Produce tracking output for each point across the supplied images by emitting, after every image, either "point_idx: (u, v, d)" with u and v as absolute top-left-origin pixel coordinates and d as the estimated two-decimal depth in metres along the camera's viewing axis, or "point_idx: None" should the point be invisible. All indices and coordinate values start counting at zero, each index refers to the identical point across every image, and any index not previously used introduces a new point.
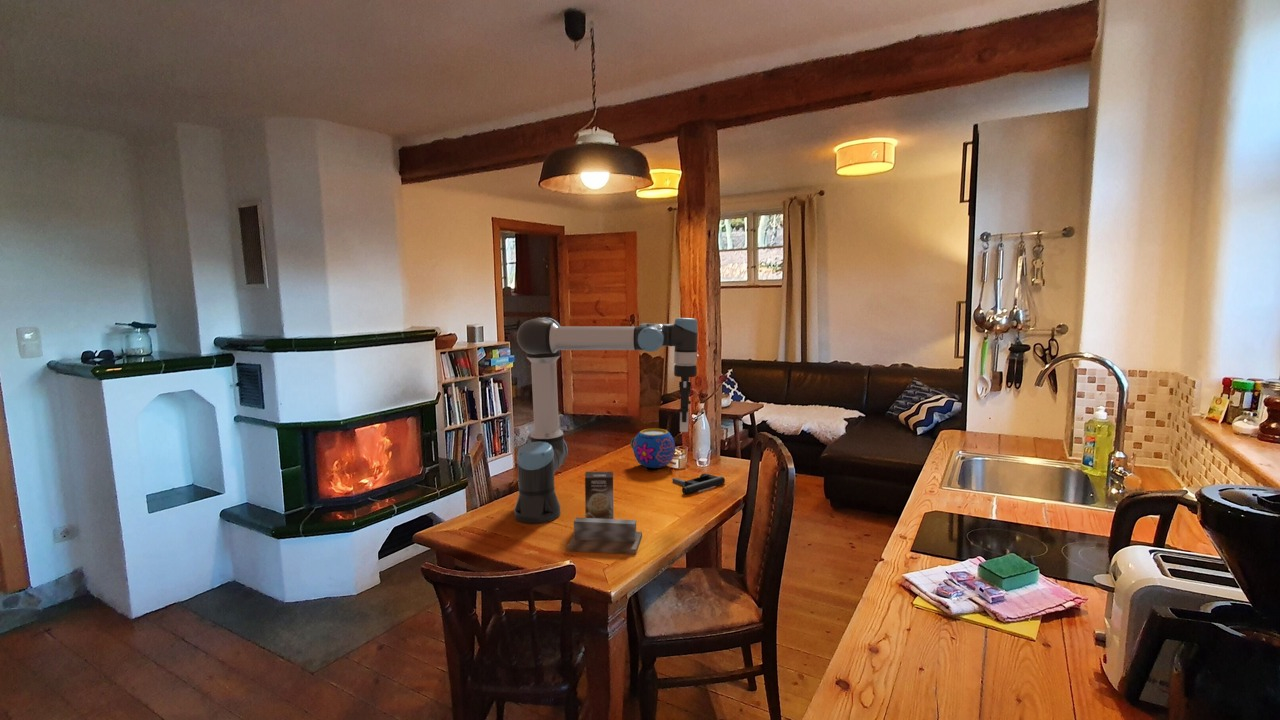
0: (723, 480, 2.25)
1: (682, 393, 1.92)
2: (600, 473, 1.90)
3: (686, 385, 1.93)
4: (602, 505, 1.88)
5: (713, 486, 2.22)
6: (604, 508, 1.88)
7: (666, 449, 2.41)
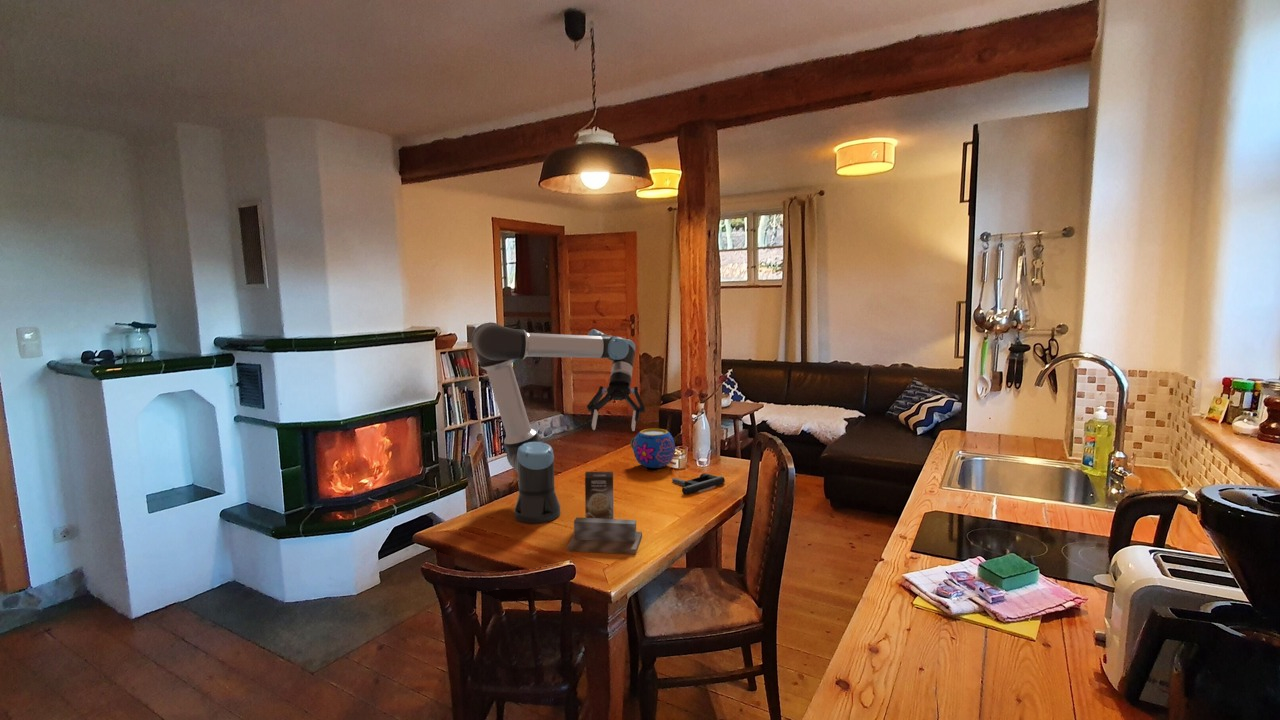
0: (723, 480, 2.25)
1: (639, 396, 2.07)
2: (600, 473, 1.90)
3: (638, 392, 2.09)
4: (602, 505, 1.88)
5: (713, 486, 2.22)
6: (604, 508, 1.88)
7: (666, 449, 2.41)
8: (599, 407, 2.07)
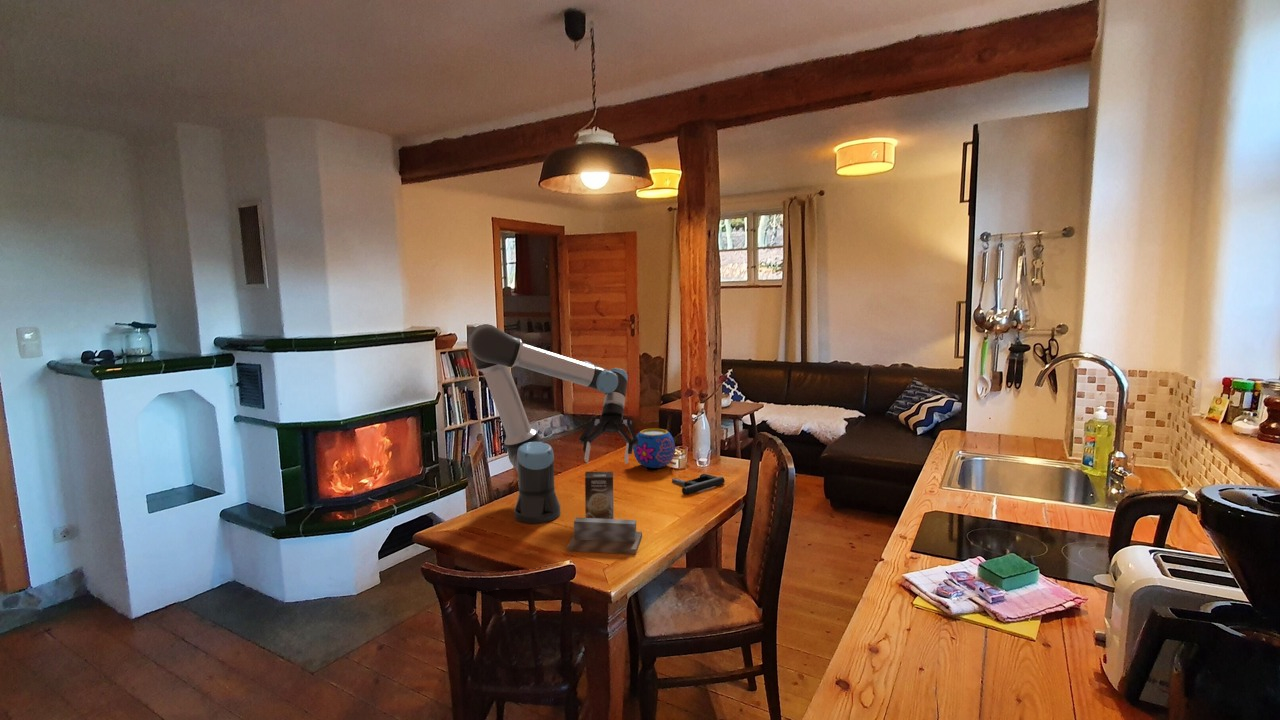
0: (723, 480, 2.25)
1: (632, 428, 2.06)
2: (600, 473, 1.90)
3: None
4: (602, 505, 1.88)
5: (713, 486, 2.22)
6: (604, 508, 1.88)
7: (666, 449, 2.41)
8: (592, 439, 2.06)
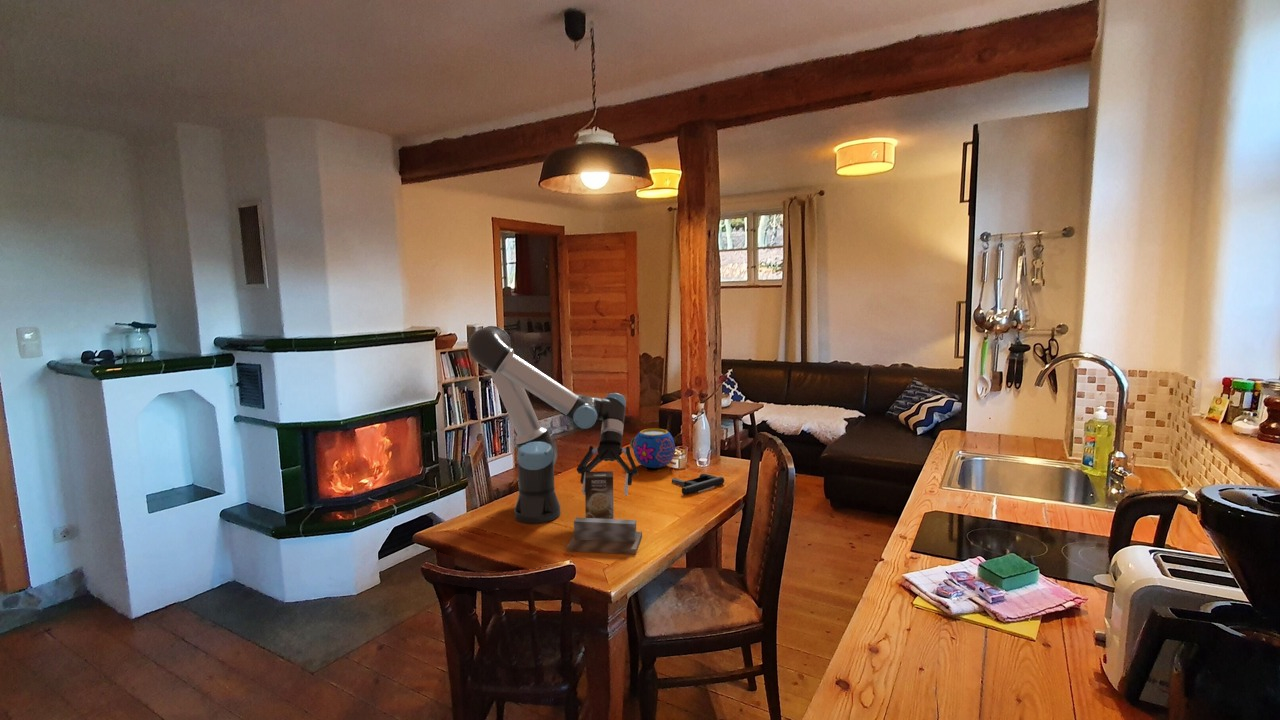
0: (722, 480, 2.25)
1: (631, 457, 1.97)
2: (600, 473, 1.90)
3: (630, 452, 2.00)
4: (602, 505, 1.88)
5: (712, 486, 2.22)
6: (604, 508, 1.88)
7: (666, 449, 2.41)
8: (589, 469, 1.97)
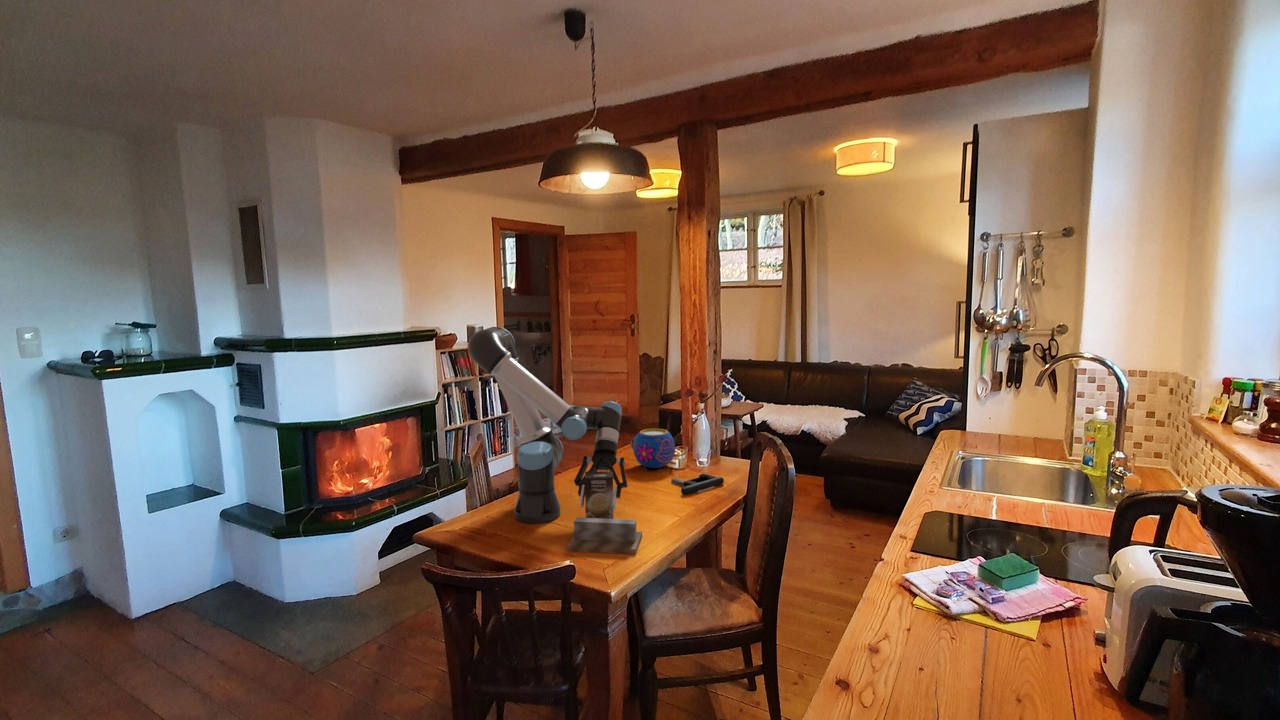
0: (722, 480, 2.25)
1: None
2: (600, 473, 1.90)
3: (624, 463, 1.97)
4: (602, 505, 1.88)
5: (712, 486, 2.22)
6: (604, 508, 1.88)
7: (666, 449, 2.41)
8: None
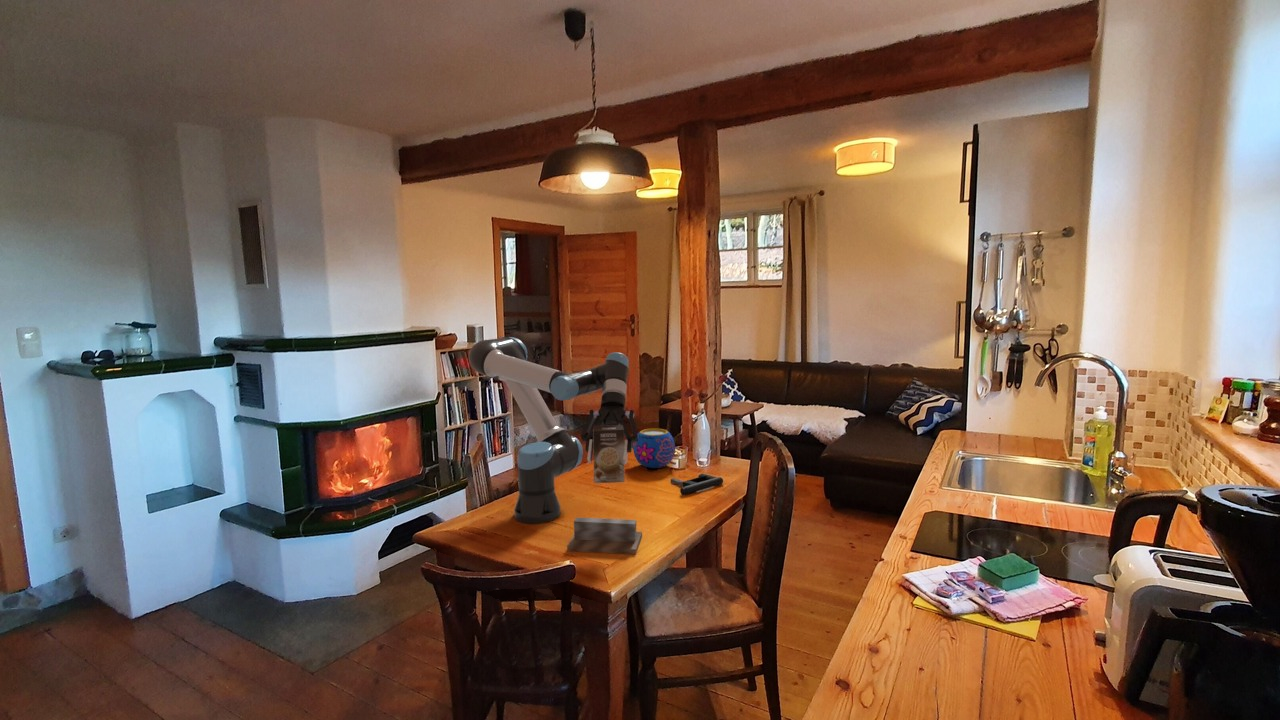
0: (721, 480, 2.25)
1: None
2: (609, 426, 1.76)
3: (633, 416, 1.83)
4: (612, 460, 1.74)
5: (711, 486, 2.22)
6: (615, 463, 1.74)
7: (666, 449, 2.41)
8: None
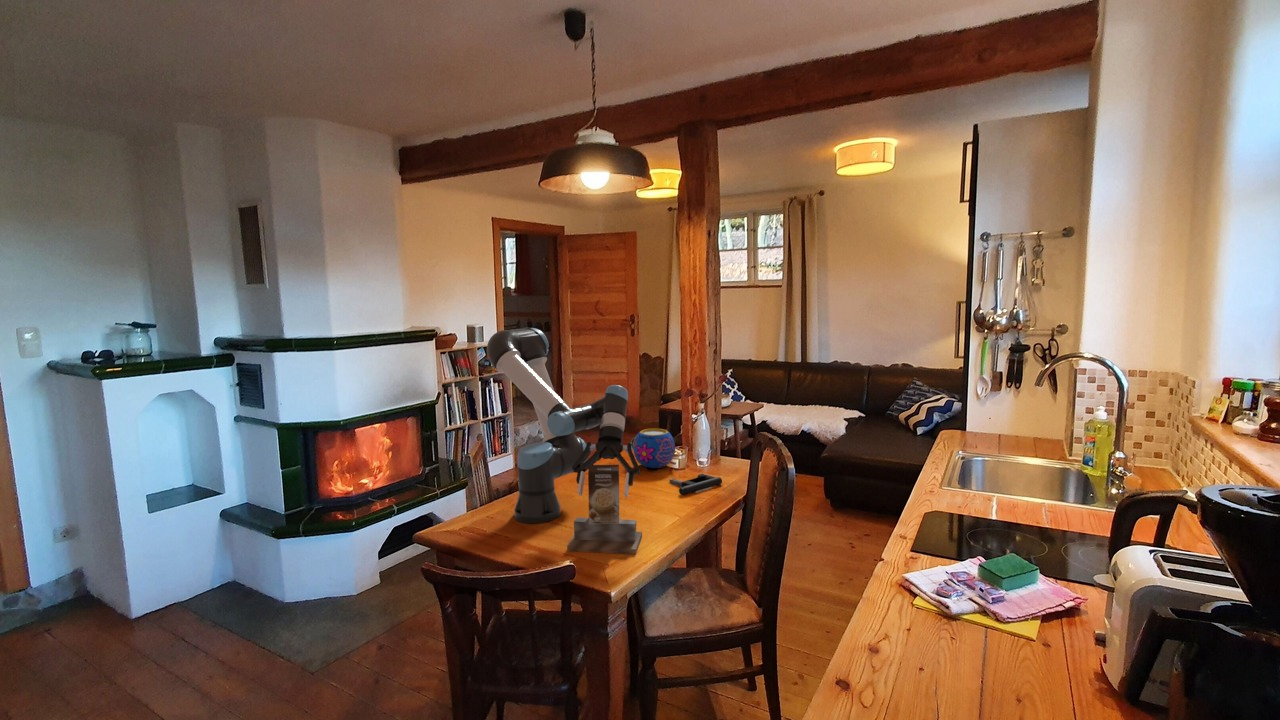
0: (720, 481, 2.24)
1: (633, 455, 1.78)
2: (605, 467, 1.74)
3: (631, 449, 1.80)
4: (607, 501, 1.71)
5: (710, 487, 2.21)
6: (609, 504, 1.72)
7: (666, 449, 2.41)
8: (586, 468, 1.78)
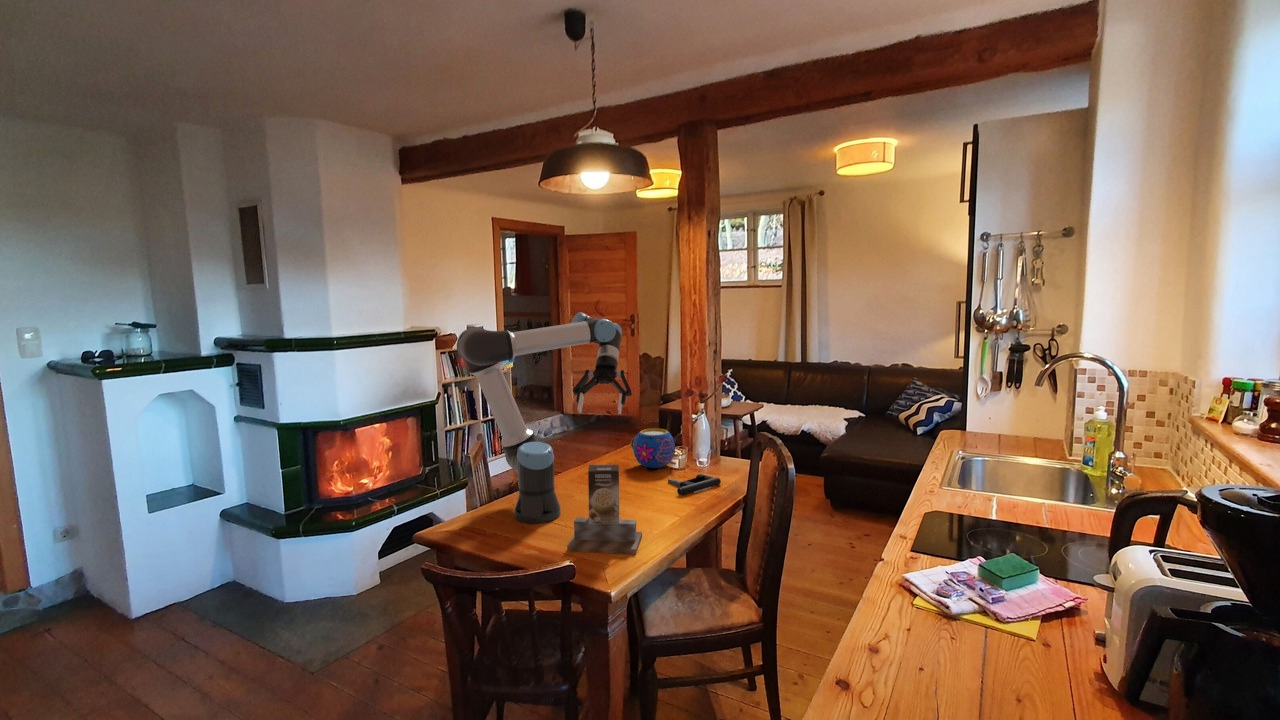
0: (719, 481, 2.24)
1: (625, 379, 2.05)
2: (605, 467, 1.74)
3: (624, 375, 2.08)
4: (607, 501, 1.72)
5: (709, 487, 2.21)
6: (609, 504, 1.72)
7: (666, 449, 2.41)
8: (585, 391, 2.05)
